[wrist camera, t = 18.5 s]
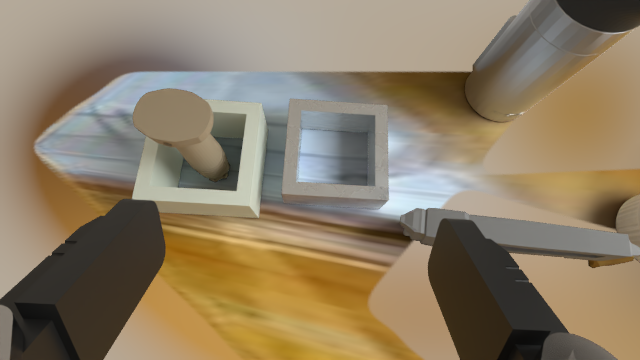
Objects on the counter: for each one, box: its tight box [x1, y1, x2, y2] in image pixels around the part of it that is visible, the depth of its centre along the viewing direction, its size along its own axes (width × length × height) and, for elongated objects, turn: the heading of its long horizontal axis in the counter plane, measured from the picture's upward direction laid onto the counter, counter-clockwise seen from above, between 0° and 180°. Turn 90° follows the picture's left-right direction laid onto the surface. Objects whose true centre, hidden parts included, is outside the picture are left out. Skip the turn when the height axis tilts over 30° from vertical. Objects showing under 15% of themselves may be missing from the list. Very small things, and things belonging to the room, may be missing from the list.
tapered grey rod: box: [400, 208, 640, 268], centre depth 38 cm, size 3×25×15 cm, turn 81°
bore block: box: [281, 99, 389, 209], centre depth 40 cm, size 12×12×5 cm
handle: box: [133, 89, 230, 182], centre depth 35 cm, size 5×6×15 cm
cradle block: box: [132, 99, 268, 218], centre depth 38 cm, size 12×12×7 cm
